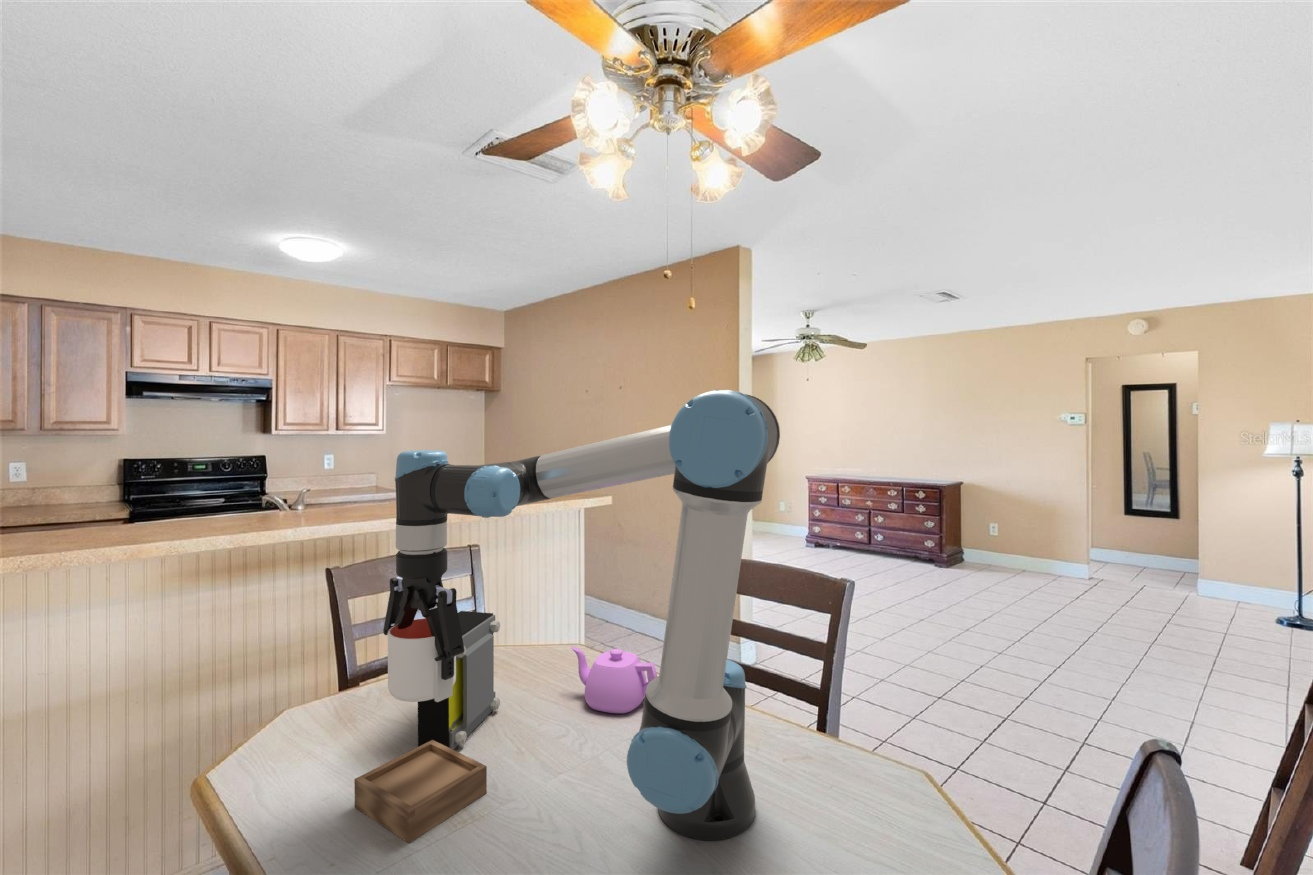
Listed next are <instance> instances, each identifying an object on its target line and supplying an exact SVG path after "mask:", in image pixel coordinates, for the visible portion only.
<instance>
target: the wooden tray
mask: <svg viewBox="0 0 1313 875" xmlns="http://www.w3.org/2000/svg"><path fill="white" fill-rule="evenodd" d="M487 776H488V775H487V765H485V764H483V763H482V762H479V761H477V760H475V759H472V758H471V757H469V756H467V755H465V754H463V753H461V752H458V751H457V750H456V749H454V750H453V749H450V748H448V747H446V746H444V745H442V744H440V743H438V742H436V741H434V740H431V741H429V742H427V743H425V744H423V745H421V746H419V747H418V746H417V747H416V748H414V749H411V750H409V751H407V752H405V753H404V754H402V755H399V756H398V757H395V758H394V759H391V760H389V761H388V762H385V763H383V764H382V765H380V766H377V767H376V768H374V769H372V770H370V771H367V772H366V773H363V774H362V775H360V776H358V777H356V778H354V808H355V809H357V810H358V811H360V812H361V813H362V814H364V815H366V816H367V817H368V818H370V819H372V820H373V821H375V822H376V823H378V824H379V825H380V826H382V827H384V828H385V829H386V830H388V831H389V832H391V833H393V834H394V835H396V836H397V837H399V838H400V839H402V840H403V841H404V842H406V843H408V844H410V843H412V842H413V841H415V840H416V839H418V838H419V837H421V836H423V835H424V834H425V833H427V832H429V831H430V830H432V829H434V828H435V827H436V826H438V825H440V824H441V823H443V822H444V821H446V820H447V819H449V818H451V817H452V816H454V815H456V814H457V813H459V812H460V811H461V810H463V809H464V808H466V807H467V806H469V805H471V804H472V803H474V802H476V801H477V800H479V799H481V798H482V797H483V796H485V795H487V793H488V792H487V791H488V790H487V786H488V785H487V782H488V781H487V780H488V779H487Z"/></svg>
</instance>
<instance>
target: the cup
mask: <svg viewBox="0 0 1313 875" xmlns="http://www.w3.org/2000/svg"><path fill="white" fill-rule="evenodd" d="M392 626H393V625H392ZM444 650H445V648H444ZM436 657H438V653H437V650H436V647H435V637H434V636H433V637H432V635H431V632H430V629H429V626H428V623H427V620H426V618H425V617H422V618H414V620H413V623H412V625H411V626H409V627H407V628H404V629H398V624H397V625H395V626H393V627H392V628H390V629H389V631H388V635H387V690H388V692H389V694H390V695H391V697H393V698H394V699H396V700H398V701H401V702H406V703H408V702H409V703H415V702H416V703H418V702H420V701H426V700H431V699H434V698H435V672H434V658H436ZM455 681H456V656H455V657H454V676H453V685H454V684H455Z"/></svg>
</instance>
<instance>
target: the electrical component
mask: <svg viewBox="0 0 1313 875" xmlns="http://www.w3.org/2000/svg"><path fill="white" fill-rule="evenodd" d="M458 617H459V622H460V628H461V633H462V639H463V644H464V653H462V654H459V655H457V656H456V681H455V684H454V685H453V696H451V697H448V698H446V699H444V700H442V701H439V702H436V701H435V698H434V699H431V700H426V701H420V702H417V747H419V746H421V745H423V744H425V743H427V742H429V741H431V740H434V741H436V742H438V743H440V744H442V745H444V746H446V747H448V748H450V749H453V750H456V749H457V747H459V746H463V745H464V744H465V743H466V741H467V738H468V737H469V735H470V734H471V733H473V731H474V730H475V729H476V728H478V726H479V725H480V724H481V723H482V722H483V721H484V720H485V719H486V718H487V717H488V716H489V715H490V714H491V713H492V712H493V711H494V710H495V711H498V710H499V708H500V706H501V699H500V698H499V697H496V691H495V690H494V688H495V687H494V685H495V682H494V678H495V676H494V675H495V674H494V667H495V666H494V664H495V663H494V660H495V659H494V658H495V657H494V653H495V652H494V648H495V647H494V645H495V644H494V643H495V642H494V640H495V639H494V637H495V636H494V633H498V632H499V631H500V629H501V622H500V621H498V620H496V615H495V614H494V612H493V613H492V612H479V611H470V610H469V611H467V610H460V611H458Z"/></svg>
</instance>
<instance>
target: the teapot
mask: <svg viewBox="0 0 1313 875" xmlns="http://www.w3.org/2000/svg"><path fill="white" fill-rule="evenodd" d="M570 649H571V650H572V651H573V652H574V653H575V654H576V657H577V661H578V662H577V663H578V665H577V666H578V676H579V679H580V681H581V683H582V684H583V685H584V699H585V701H586V703H587V705H588V706H589V707H590V709H592V710H594V711H597V712H598V711H599V712H603V713H607V714H618V715H619V714H620V715H621V714H628V713H631V712H632V711H634V710H635V709H637V708H638V707H639V706H640V705H641V704H642V702H644V700H645V693H646V688H647V685H648V684H649V682H651V681H652V680H653V679H655V678H656V677H658V674H657V670H656V665H655V662H641V659H639V656H638V655H637V654H635V652H634V653H633V652H630V651H625V650H622V649H620V648H614V649H611V650H608V651H605V652H602V653H600V654H599V655H598V656H597V657H596V658H595V660H594V662H593V664H592V665H591V668H590V667H589V666H588V663H587V659H586V655H585V653H584V651H583V650H581V648H578V647H576V646H571V648H570ZM645 672H646V673H645Z"/></svg>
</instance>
